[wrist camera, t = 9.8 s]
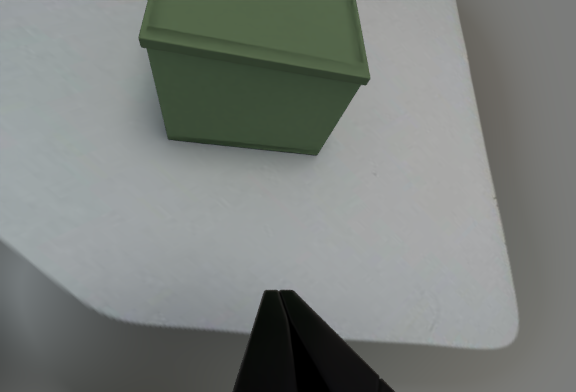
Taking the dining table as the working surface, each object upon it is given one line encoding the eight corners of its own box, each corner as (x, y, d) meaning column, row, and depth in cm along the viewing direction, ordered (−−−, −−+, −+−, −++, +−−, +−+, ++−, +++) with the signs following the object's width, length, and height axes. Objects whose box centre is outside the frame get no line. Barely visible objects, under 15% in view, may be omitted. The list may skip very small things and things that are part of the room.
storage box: (319, 157, 25) (371, 78, 17) (164, 141, 22) (137, 37, 14) (309, 26, 31) (342, -76, 23) (188, 1, 29) (179, -125, 21)
